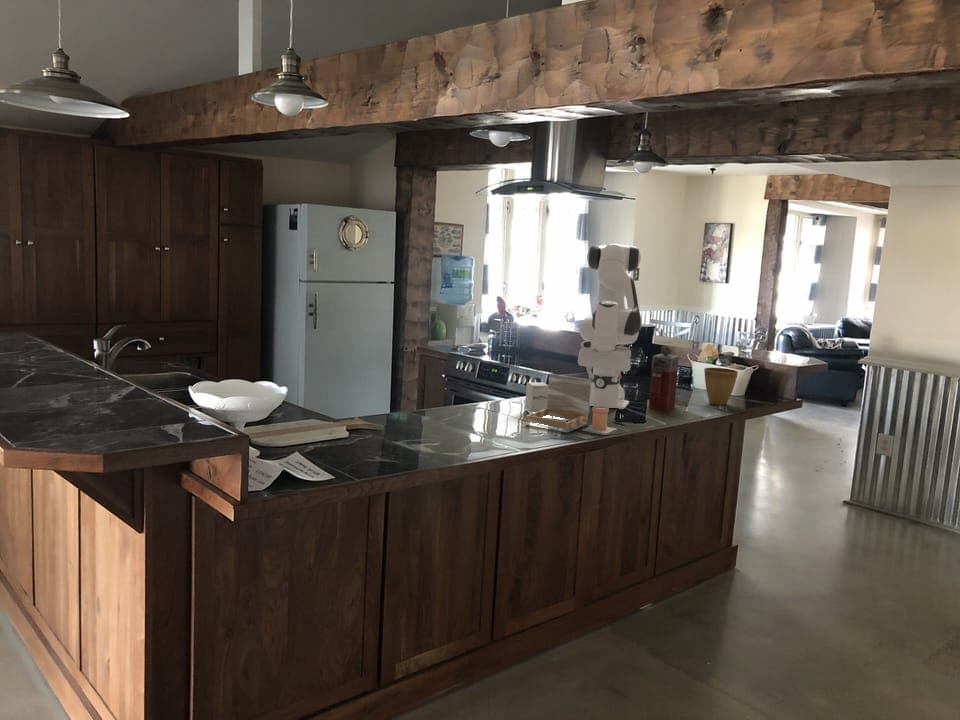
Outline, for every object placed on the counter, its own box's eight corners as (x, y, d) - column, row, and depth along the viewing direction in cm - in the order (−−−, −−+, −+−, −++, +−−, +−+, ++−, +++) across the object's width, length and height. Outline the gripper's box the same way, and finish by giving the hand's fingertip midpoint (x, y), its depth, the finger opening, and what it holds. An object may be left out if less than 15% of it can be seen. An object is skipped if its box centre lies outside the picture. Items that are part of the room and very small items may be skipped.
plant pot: (739, 407, 353) (742, 373, 350) (706, 406, 353) (709, 371, 350) (729, 401, 367) (732, 367, 365) (697, 399, 368) (700, 366, 365)
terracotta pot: (594, 425, 301) (596, 405, 300) (609, 428, 298) (611, 408, 297) (588, 428, 296) (589, 408, 295) (603, 431, 293) (604, 410, 291)
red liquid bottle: (646, 408, 343) (651, 345, 339) (655, 404, 353) (660, 343, 348) (665, 411, 339) (670, 347, 334) (674, 407, 348) (679, 345, 344)
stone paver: (592, 426, 304) (592, 424, 304) (616, 431, 299) (616, 428, 299) (581, 431, 295) (581, 429, 295) (606, 435, 290) (606, 433, 290)
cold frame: (547, 417, 317) (550, 373, 314) (588, 424, 308) (591, 379, 305) (525, 425, 301) (528, 379, 298) (567, 433, 292) (570, 386, 289)
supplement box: (530, 415, 319) (532, 385, 317) (524, 411, 326) (526, 381, 324) (547, 415, 321) (549, 385, 319) (541, 411, 328) (542, 381, 326)
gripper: (634, 346, 289) (631, 382, 291) (584, 340, 300) (581, 375, 302) (628, 348, 284) (625, 385, 286) (577, 342, 294) (575, 378, 297)
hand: (602, 380), depth 294 cm, fingers open, 8 cm apart
